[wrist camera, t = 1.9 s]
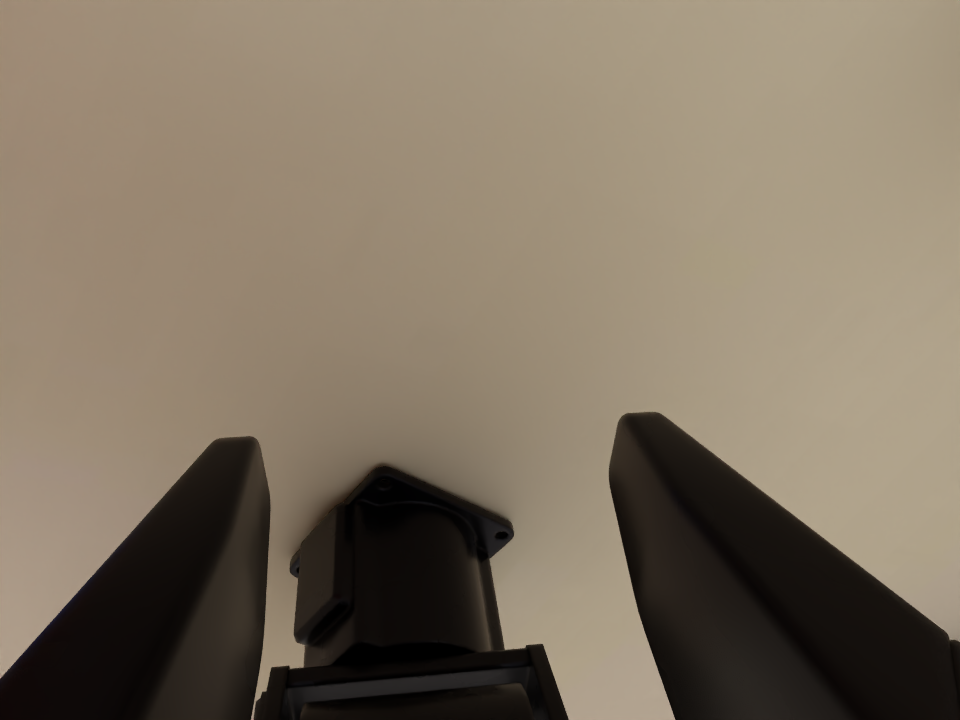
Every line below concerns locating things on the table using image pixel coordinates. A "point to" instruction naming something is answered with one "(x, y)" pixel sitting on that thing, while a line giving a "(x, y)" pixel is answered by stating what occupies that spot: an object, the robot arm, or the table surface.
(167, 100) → the table surface
